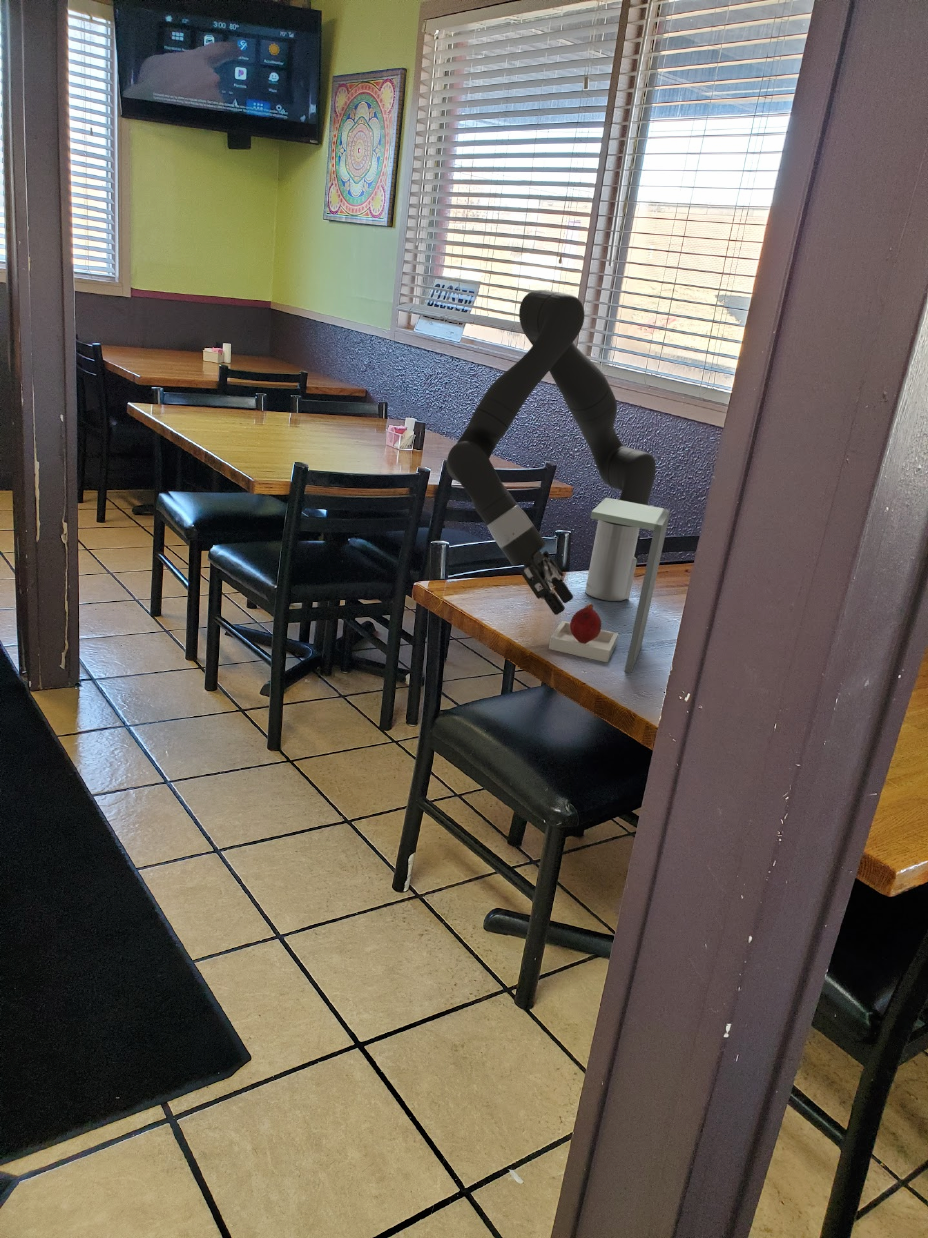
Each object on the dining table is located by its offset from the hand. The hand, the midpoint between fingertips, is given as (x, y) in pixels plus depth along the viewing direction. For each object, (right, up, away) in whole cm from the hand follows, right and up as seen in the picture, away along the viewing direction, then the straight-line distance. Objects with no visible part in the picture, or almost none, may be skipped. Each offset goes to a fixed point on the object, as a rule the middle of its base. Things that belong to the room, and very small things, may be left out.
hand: (565, 606), depth 174 cm
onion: (+3, -7, +1) cm, 8 cm away
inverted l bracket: (+7, -9, 0) cm, 11 cm away
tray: (+4, -8, +1) cm, 8 cm away
